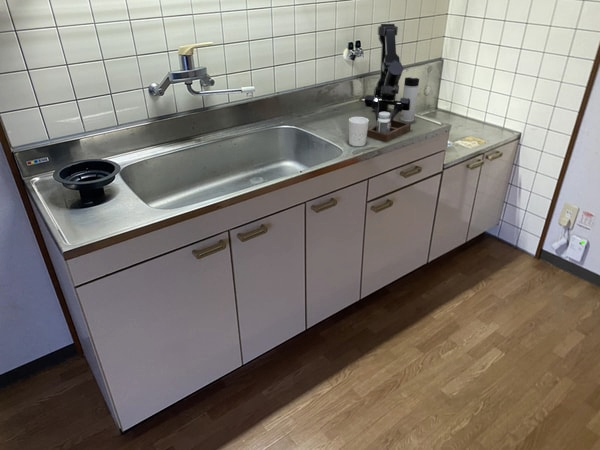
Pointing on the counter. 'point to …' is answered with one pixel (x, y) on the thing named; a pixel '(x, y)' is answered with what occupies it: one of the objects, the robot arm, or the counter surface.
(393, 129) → the divided brown tray
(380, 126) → the pill bottle
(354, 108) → the counter surface
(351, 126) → the white cup
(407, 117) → the travel mug
